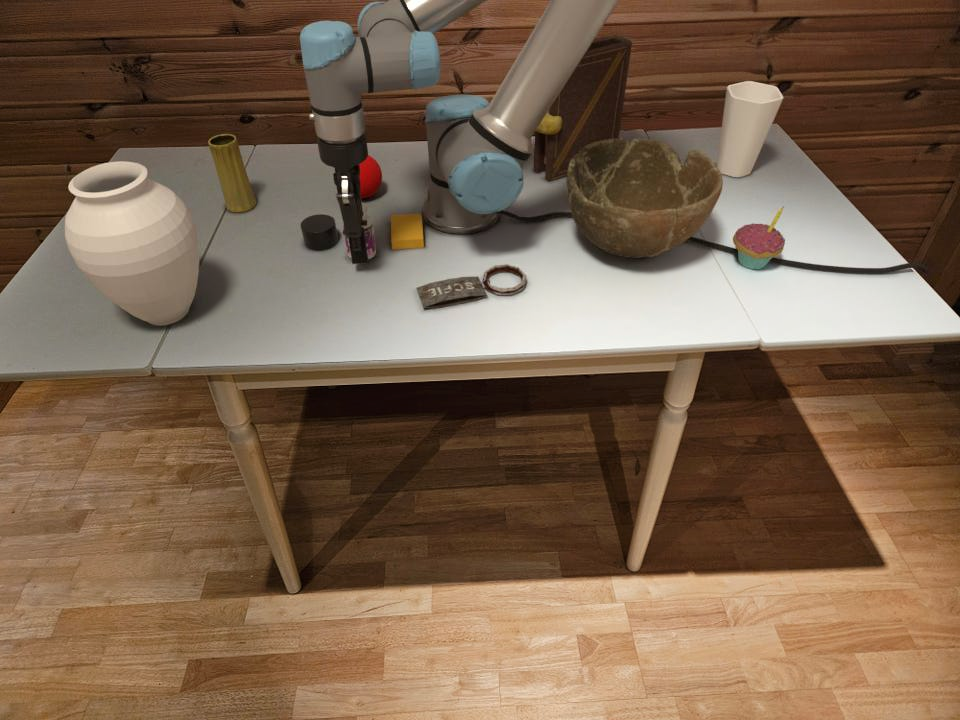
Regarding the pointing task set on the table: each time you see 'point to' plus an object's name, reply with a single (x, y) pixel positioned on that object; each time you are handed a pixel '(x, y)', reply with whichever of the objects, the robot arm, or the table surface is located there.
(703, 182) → the bowl
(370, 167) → the ornament
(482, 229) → the robot arm
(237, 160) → the vase
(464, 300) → the keychain
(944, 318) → the table surface
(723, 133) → the cup
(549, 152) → the book
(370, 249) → the pill bottle
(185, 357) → the table surface
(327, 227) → the metal tin
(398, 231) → the orange rectangular block
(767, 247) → the cupcake
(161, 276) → the vase
